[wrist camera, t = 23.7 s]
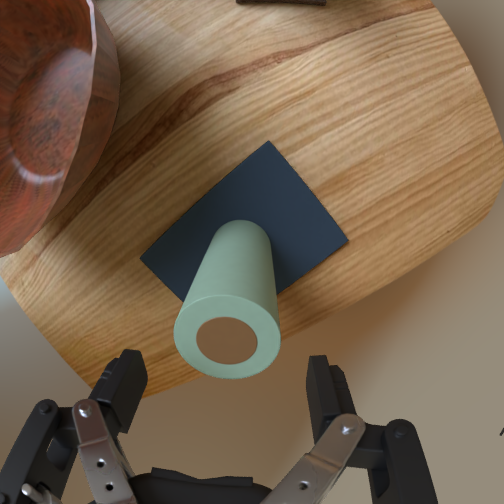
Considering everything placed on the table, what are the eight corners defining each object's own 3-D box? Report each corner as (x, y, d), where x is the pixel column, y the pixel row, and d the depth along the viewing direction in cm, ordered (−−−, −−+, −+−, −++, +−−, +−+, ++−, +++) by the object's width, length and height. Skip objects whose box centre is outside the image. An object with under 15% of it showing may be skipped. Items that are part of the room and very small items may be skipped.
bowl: (125, -28, 17) (77, -76, 7) (194, 163, 25) (150, 177, 15) (-20, 89, 21) (-78, 90, 10) (25, 250, 29) (-34, 289, 18)
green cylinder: (271, 378, 25) (284, 379, 12) (209, 377, 25) (160, 375, 12) (269, 239, 30) (275, 141, 18) (215, 239, 30) (188, 143, 18)
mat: (347, 239, 28) (348, 240, 27) (219, 333, 32) (219, 335, 31) (268, 140, 25) (268, 140, 24) (140, 256, 29) (139, 258, 28)
